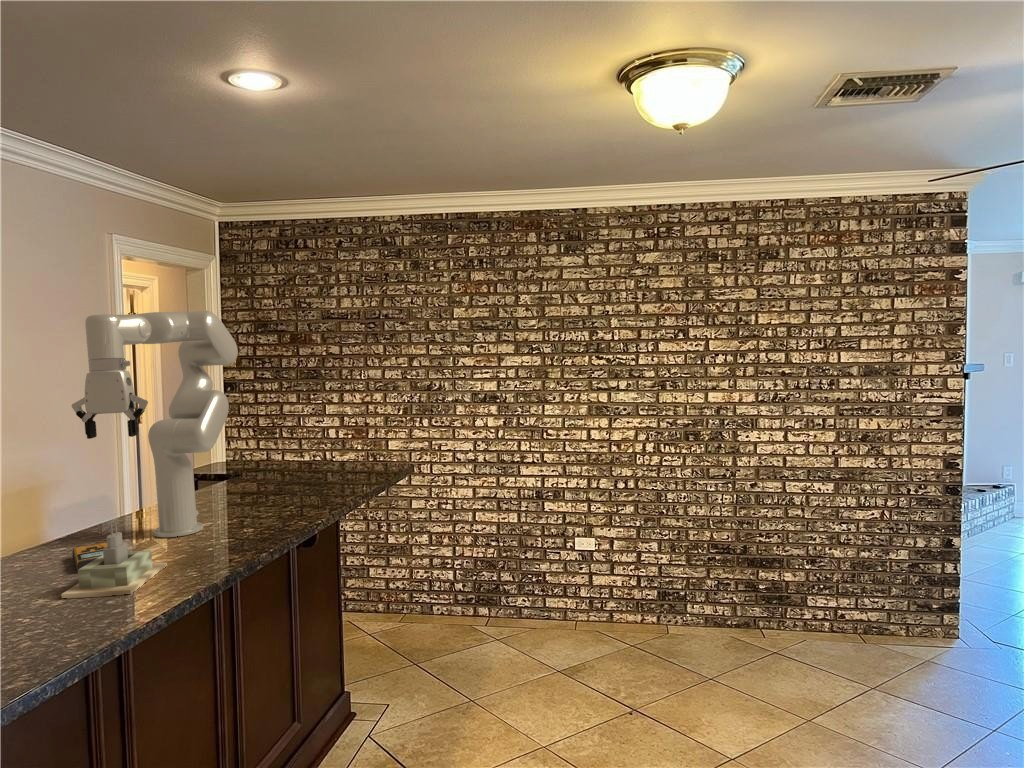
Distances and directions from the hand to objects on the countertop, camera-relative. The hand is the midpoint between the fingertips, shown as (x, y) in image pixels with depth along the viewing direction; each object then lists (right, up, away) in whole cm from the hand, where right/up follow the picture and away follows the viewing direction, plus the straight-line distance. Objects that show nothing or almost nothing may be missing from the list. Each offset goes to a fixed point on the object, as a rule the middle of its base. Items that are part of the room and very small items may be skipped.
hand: (112, 436), depth 171 cm
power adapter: (+9, -30, -14) cm, 35 cm away
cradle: (+9, -31, -14) cm, 35 cm away
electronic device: (-5, -31, +1) cm, 32 cm away
